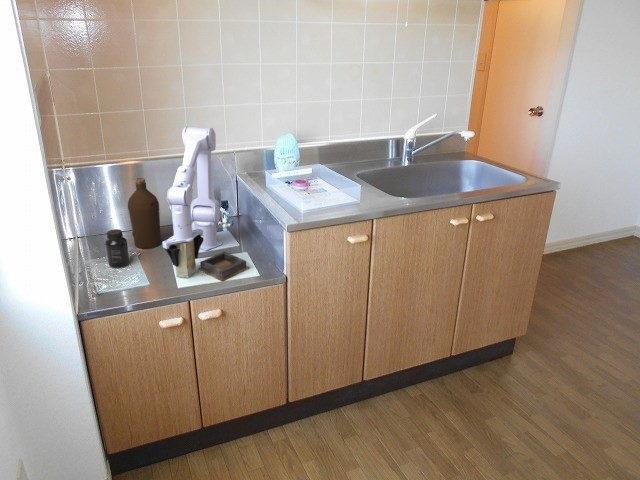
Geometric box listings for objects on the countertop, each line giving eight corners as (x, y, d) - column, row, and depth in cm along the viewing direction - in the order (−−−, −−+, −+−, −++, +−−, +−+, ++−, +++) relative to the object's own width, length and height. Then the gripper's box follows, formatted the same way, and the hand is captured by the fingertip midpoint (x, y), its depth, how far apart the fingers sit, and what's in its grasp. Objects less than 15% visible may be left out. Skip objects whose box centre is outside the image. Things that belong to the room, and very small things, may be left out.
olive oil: (166, 238, 189) (160, 175, 178) (157, 250, 179) (149, 184, 169) (139, 237, 189) (131, 174, 179) (128, 249, 180) (119, 183, 169)
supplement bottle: (134, 261, 171) (129, 229, 166) (120, 270, 165) (116, 237, 160) (117, 258, 173) (113, 226, 168) (104, 266, 167) (98, 234, 162)
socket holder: (198, 269, 167) (197, 261, 166) (225, 258, 176) (224, 250, 174) (222, 281, 160) (221, 273, 159) (248, 268, 169) (248, 260, 168)
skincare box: (188, 278, 161) (185, 244, 156) (176, 276, 162) (172, 243, 157) (196, 269, 167) (194, 236, 162) (184, 268, 168) (181, 235, 163)
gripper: (170, 233, 150) (174, 273, 155) (208, 220, 160) (210, 257, 166) (156, 227, 154) (161, 266, 159) (194, 214, 164) (197, 251, 170)
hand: (185, 261), depth 163 cm, fingers closed on skincare box, 7 cm apart
